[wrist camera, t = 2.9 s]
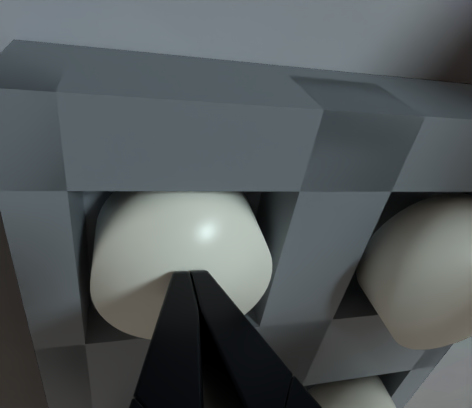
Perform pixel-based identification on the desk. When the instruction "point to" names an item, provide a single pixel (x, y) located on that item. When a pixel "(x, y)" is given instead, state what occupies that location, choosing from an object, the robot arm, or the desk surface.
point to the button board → (219, 179)
